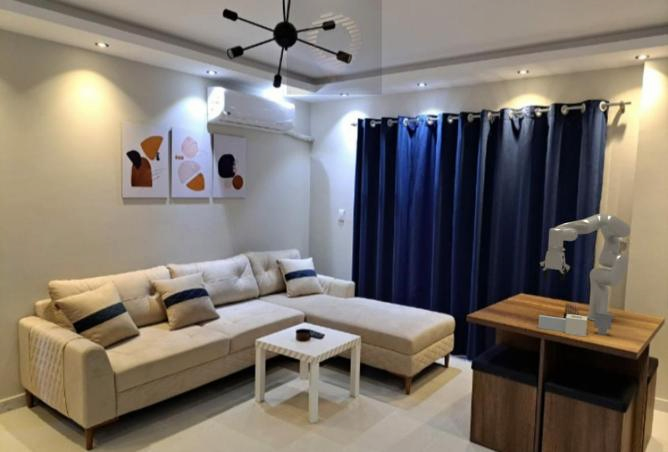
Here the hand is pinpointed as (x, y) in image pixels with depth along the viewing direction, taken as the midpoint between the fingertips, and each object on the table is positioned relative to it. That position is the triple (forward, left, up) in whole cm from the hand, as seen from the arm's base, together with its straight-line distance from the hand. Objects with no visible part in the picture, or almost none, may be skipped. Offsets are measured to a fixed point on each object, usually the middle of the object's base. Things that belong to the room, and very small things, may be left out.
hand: (553, 278), depth 277 cm
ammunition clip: (-13, -2, -27) cm, 30 cm away
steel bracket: (-19, +18, -27) cm, 38 cm away
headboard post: (+1, +13, -27) cm, 30 cm away
